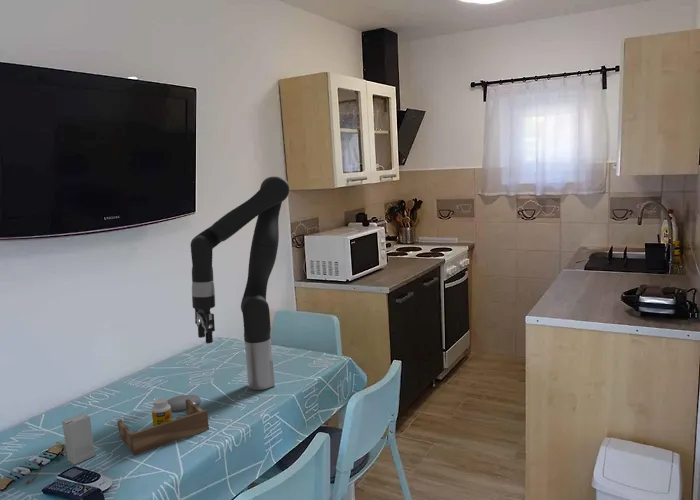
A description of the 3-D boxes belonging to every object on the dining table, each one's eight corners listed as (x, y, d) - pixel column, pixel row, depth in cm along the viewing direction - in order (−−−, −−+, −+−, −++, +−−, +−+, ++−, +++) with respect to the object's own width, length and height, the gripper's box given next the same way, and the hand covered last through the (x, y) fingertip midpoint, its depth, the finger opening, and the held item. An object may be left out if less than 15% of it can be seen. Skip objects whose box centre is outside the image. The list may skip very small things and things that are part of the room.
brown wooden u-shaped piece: (119, 436, 167) (116, 417, 166) (190, 413, 180) (188, 396, 179) (134, 455, 155) (132, 435, 154) (209, 429, 168) (207, 410, 167)
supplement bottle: (156, 438, 164) (153, 406, 162) (152, 432, 168) (148, 400, 167) (175, 433, 167) (172, 400, 165) (170, 426, 171) (167, 395, 170)
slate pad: (201, 394, 195) (201, 392, 195) (199, 408, 183) (199, 406, 183) (165, 399, 192) (165, 397, 192) (161, 414, 181) (161, 411, 181)
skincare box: (88, 451, 158) (83, 411, 157) (96, 456, 155) (90, 415, 154) (66, 461, 154) (60, 419, 152) (73, 466, 151) (68, 424, 149)
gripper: (220, 296, 186) (222, 343, 188) (207, 289, 198) (209, 333, 200) (198, 298, 182) (200, 346, 184) (186, 291, 194) (188, 337, 196)
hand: (205, 340), depth 192 cm, fingers open, 8 cm apart
